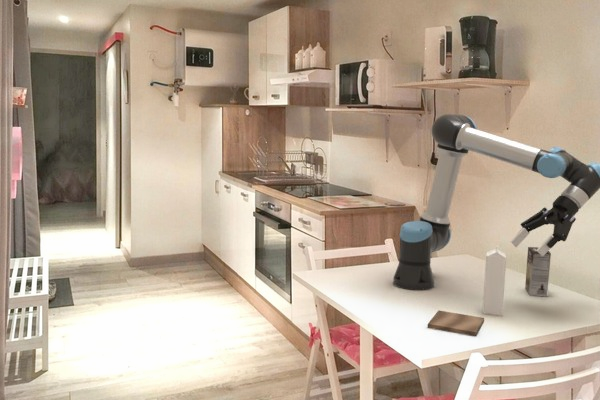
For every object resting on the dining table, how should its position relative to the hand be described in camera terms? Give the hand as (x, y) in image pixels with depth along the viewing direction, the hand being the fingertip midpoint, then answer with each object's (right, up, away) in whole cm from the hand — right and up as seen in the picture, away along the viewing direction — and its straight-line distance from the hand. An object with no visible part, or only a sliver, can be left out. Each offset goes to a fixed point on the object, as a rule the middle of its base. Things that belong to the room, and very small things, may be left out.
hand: (525, 248), depth 181 cm
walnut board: (-26, -22, -12) cm, 36 cm away
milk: (-11, -21, 0) cm, 23 cm away
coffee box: (+13, -18, +23) cm, 32 cm away
